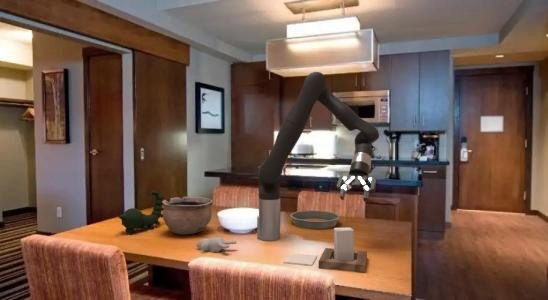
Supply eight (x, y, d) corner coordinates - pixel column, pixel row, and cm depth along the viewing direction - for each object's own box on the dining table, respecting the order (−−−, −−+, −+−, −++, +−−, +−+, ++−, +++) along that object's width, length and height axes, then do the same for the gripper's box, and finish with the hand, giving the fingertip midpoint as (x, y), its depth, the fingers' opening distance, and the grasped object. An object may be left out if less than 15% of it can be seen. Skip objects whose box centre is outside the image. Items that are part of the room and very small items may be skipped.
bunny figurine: (205, 235, 153) (237, 234, 147) (206, 247, 153) (239, 247, 147) (191, 241, 144) (225, 241, 138) (192, 254, 144) (226, 255, 138)
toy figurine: (153, 227, 189) (109, 234, 167) (155, 189, 189) (112, 191, 168) (167, 229, 184) (124, 237, 162) (169, 190, 185) (126, 192, 163)
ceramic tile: (283, 263, 131) (283, 261, 131) (290, 254, 141) (290, 253, 141) (312, 265, 129) (312, 264, 128) (317, 256, 138) (317, 255, 138)
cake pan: (287, 229, 180) (287, 219, 180) (293, 217, 204) (293, 209, 204) (339, 231, 176) (339, 221, 175) (339, 219, 200) (340, 211, 200)
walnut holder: (318, 268, 126) (318, 260, 126) (325, 254, 141) (325, 247, 141) (364, 272, 122) (364, 265, 122) (366, 258, 137) (366, 251, 136)
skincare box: (350, 260, 134) (350, 226, 134) (354, 265, 130) (354, 229, 129) (333, 261, 133) (333, 227, 133) (336, 265, 129) (336, 230, 128)
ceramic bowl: (187, 224, 187) (187, 194, 186) (222, 230, 176) (222, 198, 175) (152, 235, 168) (151, 201, 167) (188, 242, 157) (188, 206, 156)
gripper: (341, 159, 152) (332, 192, 142) (377, 160, 145) (370, 194, 135) (344, 171, 156) (336, 204, 147) (380, 173, 150) (373, 206, 140)
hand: (353, 199), depth 141 cm, fingers open, 8 cm apart
